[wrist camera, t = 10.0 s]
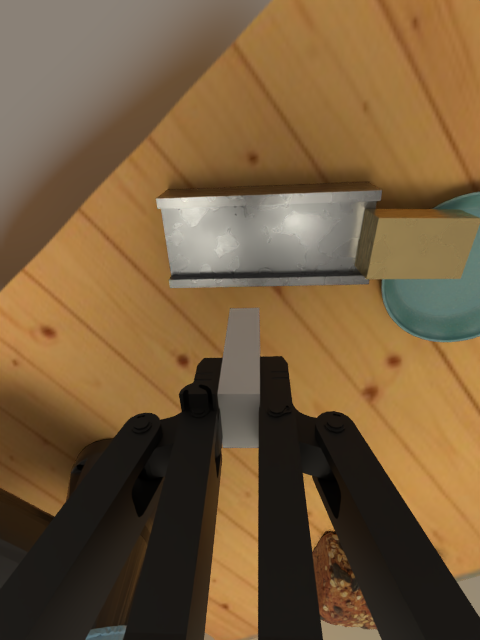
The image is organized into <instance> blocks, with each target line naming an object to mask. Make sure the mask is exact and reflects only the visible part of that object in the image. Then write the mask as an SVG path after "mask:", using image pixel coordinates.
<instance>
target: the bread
mask: <svg viewBox="0 0 480 640" xmlns="http://www.w3.org/2000/svg"><path fill="white" fill-rule="evenodd" d="M312 555H313V563H314V571H315V579H316V587H317V596H318V604H319V612H320V619H321V620H323V621H325V622H327V623H330V624H333V625H342V626H345V627H361V628H363V629H377V627H376V625H375V623H374V620H373V618H372V616H371V613H370V611H369V609H368V606H367V604H366V602H365V599H364V597H363V595H362V592H361V590H360V588H359V585H358V583H357V581H356V578H355V576H354V574H353V571H352V569H351V567H350V564H349V562H348V560H347V557H346V555H345V553H344V550H343V548H342V546H341V543H340V541H339V539H338V536H337V534H333V533H328V534H326V535H324V536H323V537H322V538H321V539H320V541H319V542H318V544H317V546H316V548H315V549H314V551H313V553H312Z"/></svg>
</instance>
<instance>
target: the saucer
mask: <svg viewBox="0 0 480 640" xmlns="http://www.w3.org/2000/svg"><path fill="white" fill-rule="evenodd" d="M433 209H460V210H462V211H465V212H467V213H470V214H472V215H475V216H477V217H480V192H474V193H469V194H465V195H461V196H458V197H455V198H453V199H450V200H448V201H446V202H443V203H441V204H439V205H438V206H436V207H434V208H433ZM381 288H382V298H383V302H384V305H385V308H386V310H387V312H388V314H389V316H390V317H391V318H392V320H393V321H394V322H395V323H396V324H397V325H398V326H399V327H400V328H402V329H403V330H404V331H406V332H408V333H409V334H411V335H413V336H416V337H419V338H421V339H424V340H429V341H435V342H455V341H463V340H468V339H472V338H476V337H479V336H480V225H479V228H478V231H477V234H476V236H475V239H474V242H473V245H472V248H471V251H470V254H469V256H468V259H467V262H466V265H465V268H464V271H463V274H462V276H461V279H382V287H381Z"/></svg>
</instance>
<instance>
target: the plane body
mask: <svg viewBox="0 0 480 640" xmlns="http://www.w3.org/2000/svg"><path fill="white" fill-rule="evenodd" d="M381 195H382V190H381V189H379V188H378V187H376V186H375V185H373V184H372V183H370V182H350V183H325V184H299V185H274V186H248V187H223V188H197V189H172V190H166V191H165V192H164V193H163V194H161V195H160V196H159V197H158V198H156V202H157V208H158V209H161V212H162V219H163V225H164V232H165V238H166V245H167V251H168V258H169V264H170V271H171V277H170V279H169V284H170V288H195V287H247V286H299V285H351V284H369V279H366V278H365V277H364V276H363V275H362V274H361V273H360V271H359V270H358V269H357V268H356V267H355V261H356V256H357V250H358V245H359V240H360V234H361V229H362V223H363V218H364V213H365V209H376V203H377V201H381Z"/></svg>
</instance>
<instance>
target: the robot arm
mask: <svg viewBox="0 0 480 640" xmlns="http://www.w3.org/2000/svg"><path fill="white" fill-rule="evenodd" d="M179 398H180V403H181V409H182V412H181V413H180V414H178V415H176V416H173V417H170V418H166V419H162V420H160V419H159V418H158V416H157V415H155V414H152V413H142V414H138V415H135V416H134V417H132V418H130V419H129V420H128V421H127V422H126V423H125V424H124V426H123V427H122V428H121V430H120V431H119V432H118V434H117V435H116V436H115V438H114V439H107V440H101V441H97V442H95V443H92V444H90V445H88V446H87V447H86V448H84V449H83V450H82V451H81V453H80V454H79V456H78V458H77V460H76V462H75V464H74V465H73V468H72V470H71V474H70V480H69V487H68V493H67V499H66V503H65V504H64V505H63V507H62V508H61V509H60V511H59V512H58V513H57V515H56V516H55V517H54V516H52V515H50V514H48V513H47V512H45V511H43V510H41V509H39V508H37V507H35V506H33V505H32V504H30V503H28V502H26V501H24V500H22V499H20V498H18V497H16V496H15V495H13V494H11V493H9V492H7V491H5V490H3V489H1V488H0V640H204V633H205V623H206V613H207V603H208V593H209V583H210V574H211V564H212V554H213V544H214V534H215V525H216V515H217V505H218V495H219V485H220V476H221V466H222V454H221V448H222V445H223V448H259V505H258V640H323V637H322V628H321V620H320V612H319V604H318V596H317V587H316V579H315V571H314V563H313V555H312V546H311V538H310V530H309V522H308V514H307V506H306V497H305V489H304V481H303V473H305V474H308V475H312V478H313V481H314V483H315V485H316V488H317V490H318V492H319V495H320V497H321V499H322V502H323V504H324V506H325V508H326V511H327V513H328V515H329V518H330V520H331V522H332V525H333V527H334V529H335V532H336V534H337V536H338V539H339V541H340V543H341V546H342V548H343V550H344V553H345V555H346V557H347V560H348V562H349V564H350V567H351V569H352V571H353V574H354V576H355V578H356V581H357V583H358V585H359V588H360V590H361V592H362V595H363V597H364V599H365V602H366V604H367V606H368V609H369V611H370V613H371V616H372V618H373V620H374V623H375V625H376V627H377V630H378V632H379V634H380V637H381V639H382V640H480V617H479V616H478V614H477V613H476V611H475V610H474V608H473V606H472V605H471V603H470V602H469V600H468V599H467V597H466V596H465V594H464V593H463V591H462V590H461V588H460V586H459V585H458V583H457V582H456V580H455V579H454V577H453V576H452V574H451V572H450V571H449V569H448V568H447V566H446V565H445V563H444V562H443V560H442V559H441V557H440V555H439V554H438V552H437V551H436V549H435V548H434V546H433V545H432V543H431V542H430V540H429V538H428V537H427V535H426V534H425V532H424V531H423V529H422V528H421V526H420V525H419V523H418V521H417V520H416V518H415V517H414V515H413V514H412V512H411V511H410V509H409V508H408V506H407V504H406V503H405V501H404V500H403V498H402V497H401V495H400V494H399V492H398V491H397V489H396V487H395V486H394V484H393V483H392V481H391V480H390V478H389V477H388V475H387V474H386V472H385V470H384V469H383V467H382V466H381V464H380V463H379V461H378V460H377V458H376V457H375V455H374V453H373V452H372V450H371V449H370V447H369V446H368V444H367V443H366V441H365V439H364V438H363V436H362V435H361V433H360V432H359V430H358V429H357V427H356V426H355V424H354V422H353V421H352V420H351V419H350V418H349V417H348V416H346V415H344V414H342V413H339V412H335V411H332V412H325V413H322V414H321V415H319V416H318V417H317V418H314V417H310V416H307V415H304V414H302V413H300V412H299V411H298V410H297V409H296V408H295V407H294V406H293V403H292V396H291V388H290V380H289V373H288V363H287V362H286V361H285V360H284V358H283V357H282V356H273V357H260V319H259V308H230V312H229V319H228V326H227V333H226V339H225V346H224V353H223V358H204V359H203V360H202V361H201V362H200V363H199V364H198V366H197V370H196V374H195V378H194V382H193V383H192V384H189V385H187V386H185V387H184V388H183V389H182V390H181V391H180V393H179Z"/></svg>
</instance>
